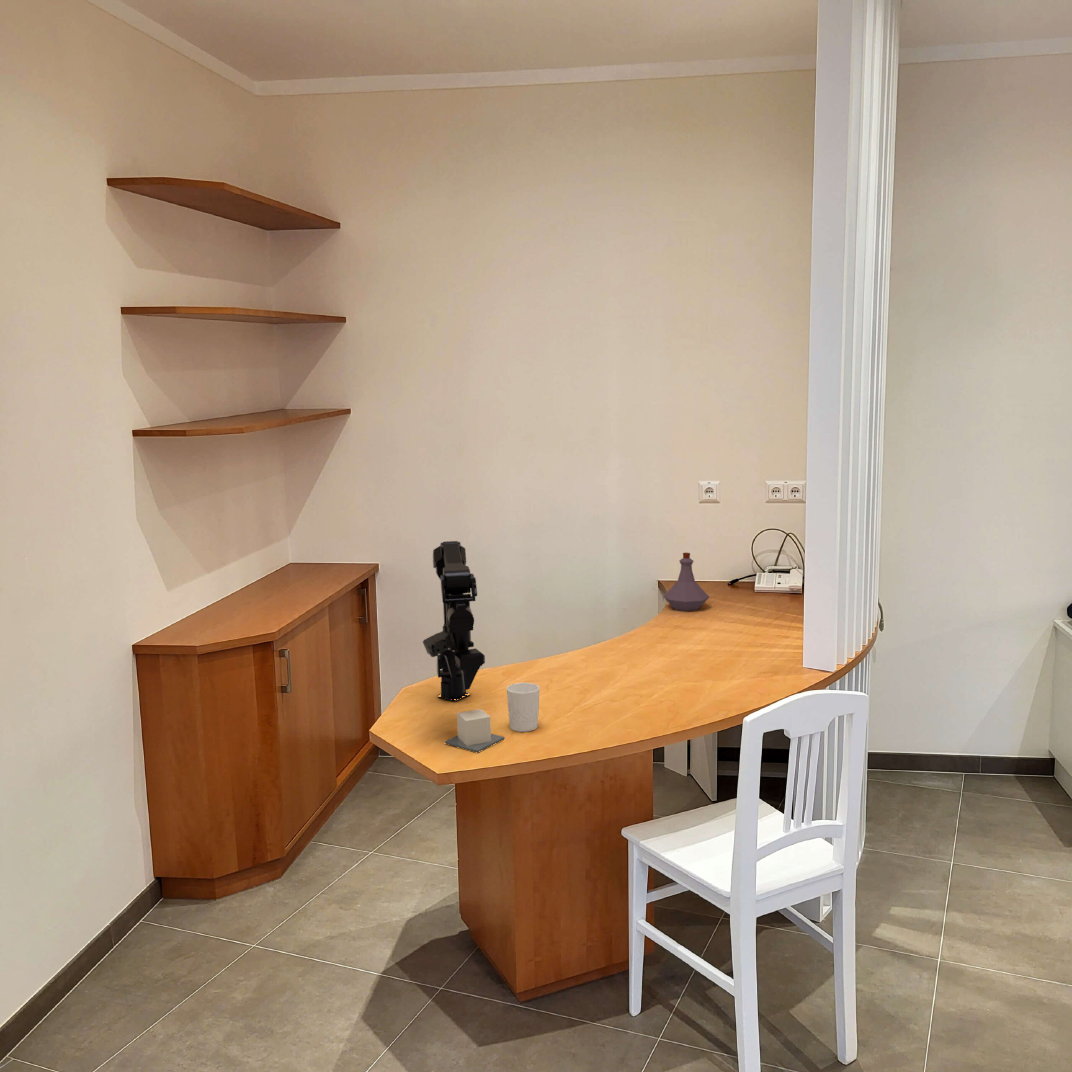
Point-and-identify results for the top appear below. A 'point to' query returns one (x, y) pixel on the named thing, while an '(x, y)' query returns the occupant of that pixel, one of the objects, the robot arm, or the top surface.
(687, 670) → the top surface
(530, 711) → the white cup
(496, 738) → the coaster
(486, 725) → the cube
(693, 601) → the flask
